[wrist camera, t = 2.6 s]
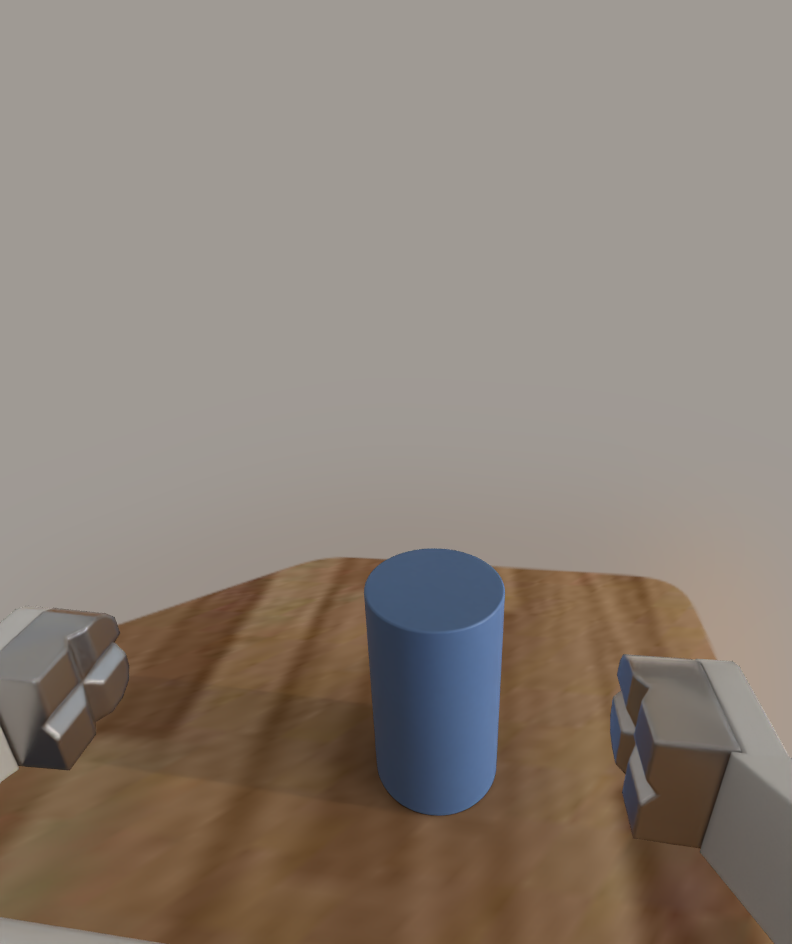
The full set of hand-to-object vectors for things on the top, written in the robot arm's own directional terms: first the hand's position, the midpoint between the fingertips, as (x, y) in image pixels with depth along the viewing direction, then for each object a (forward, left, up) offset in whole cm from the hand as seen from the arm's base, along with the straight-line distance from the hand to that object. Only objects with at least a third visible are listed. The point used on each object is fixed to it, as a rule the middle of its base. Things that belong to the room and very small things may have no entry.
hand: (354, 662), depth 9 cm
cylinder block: (0, -12, -17) cm, 21 cm away
